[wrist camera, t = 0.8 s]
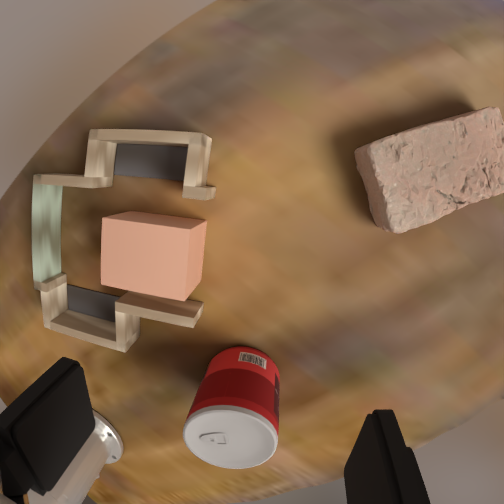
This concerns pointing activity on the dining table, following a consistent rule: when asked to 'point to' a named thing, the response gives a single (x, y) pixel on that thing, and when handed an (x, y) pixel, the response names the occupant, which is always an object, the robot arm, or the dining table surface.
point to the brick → (433, 169)
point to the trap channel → (101, 175)
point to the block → (152, 253)
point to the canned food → (235, 410)
